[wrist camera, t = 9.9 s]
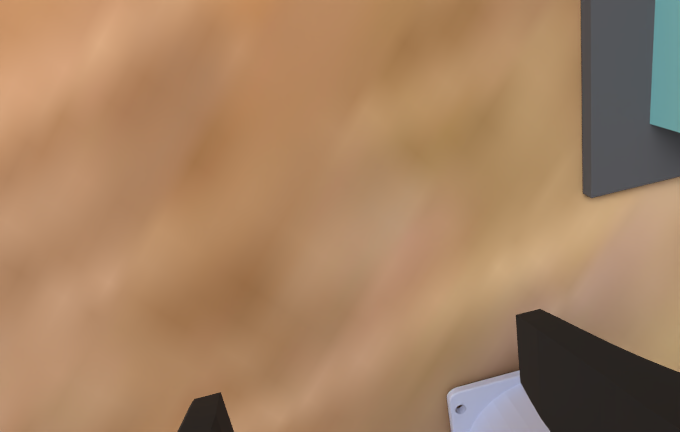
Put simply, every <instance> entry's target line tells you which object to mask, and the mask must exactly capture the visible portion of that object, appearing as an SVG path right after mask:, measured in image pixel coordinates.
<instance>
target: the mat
mask: <svg viewBox="0 0 680 432" xmlns="http://www.w3.org/2000/svg"><path fill="white" fill-rule="evenodd" d="M654 19H655V0H581V49H582V153H583V194H585V195H587V196H589V197H591V198H593V197H597V196H601V195H605V194H610V193H614V192H618V191H622V190H626V189H630V188H634V187H638V186H642V185H646V184H651V183H655V182H659V181H663V180H667V179H671V178H675V177H679V176H680V133H679V132H676V131H672V130H669V129H666V128H662V127H659V126H656V125H652V124H650V107H651V85H652V63H653V41H654Z"/></svg>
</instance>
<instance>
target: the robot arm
mask: <svg viewBox="0 0 680 432" xmlns="http://www.w3.org/2000/svg"><path fill="white" fill-rule="evenodd" d="M516 325H517V340H518V355H519V371H515V372H511V373H507V374H504V375H500V376H496V377H493V378H489V379H485V380H482V381H478V382H474V383H471V384H467V385H463V386H460V387H456V388H454V389H452V390H451V391H449V393H448V395H447V404H448V412H449V419H450V427H451V432H680V372H677V371H674V370H672V369H669V368H666V367H664V366H661V365H659V364H657V363H654V362H652V361H649V360H647V359H645V358H642V357H640V356H637V355H635V354H633V353H631V352H628V351H626V350H624V349H622V348H619V347H617V346H615V345H613V344H611V343H609V342H607V341H605V340H602V339H600V338H598V337H596V336H594V335H592V334H590V333H588V332H586V331H584V330H582V329H580V328H578V327H576V326H574V325H572V324H570V323H568V322H566V321H564V320H562V319H560V318H558V317H556V316H554V315H552V314H550V313H547V312H545V311H543V310H541V309H538V310H534V311H530V312H526V313H522V314H519V315H516ZM459 405H462V406H461V407H459V408H457V406H459ZM178 432H234V431H233V428H232V425H231V422H230V419H229V416H228V413H227V410H226V407H225V404H224V401H223V398H222V395H221V392H220V393H216V394H212V395H209V396H205V397H201V398H197V399H194V401H193V402H192V404H191V405H190V407H189V409H188V411H187V413H186V415H185V418H184V420H183V422H182V424H181V426H180V428H179V430H178Z"/></svg>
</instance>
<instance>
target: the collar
mask: <svg viewBox="0 0 680 432" xmlns="http://www.w3.org/2000/svg"><path fill="white" fill-rule="evenodd" d="M650 124H652V125H656V126H659V127H662V128H666V129H669V130H672V131H676V132H679V133H680V0H655V19H654V41H653V63H652V85H651V107H650Z"/></svg>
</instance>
